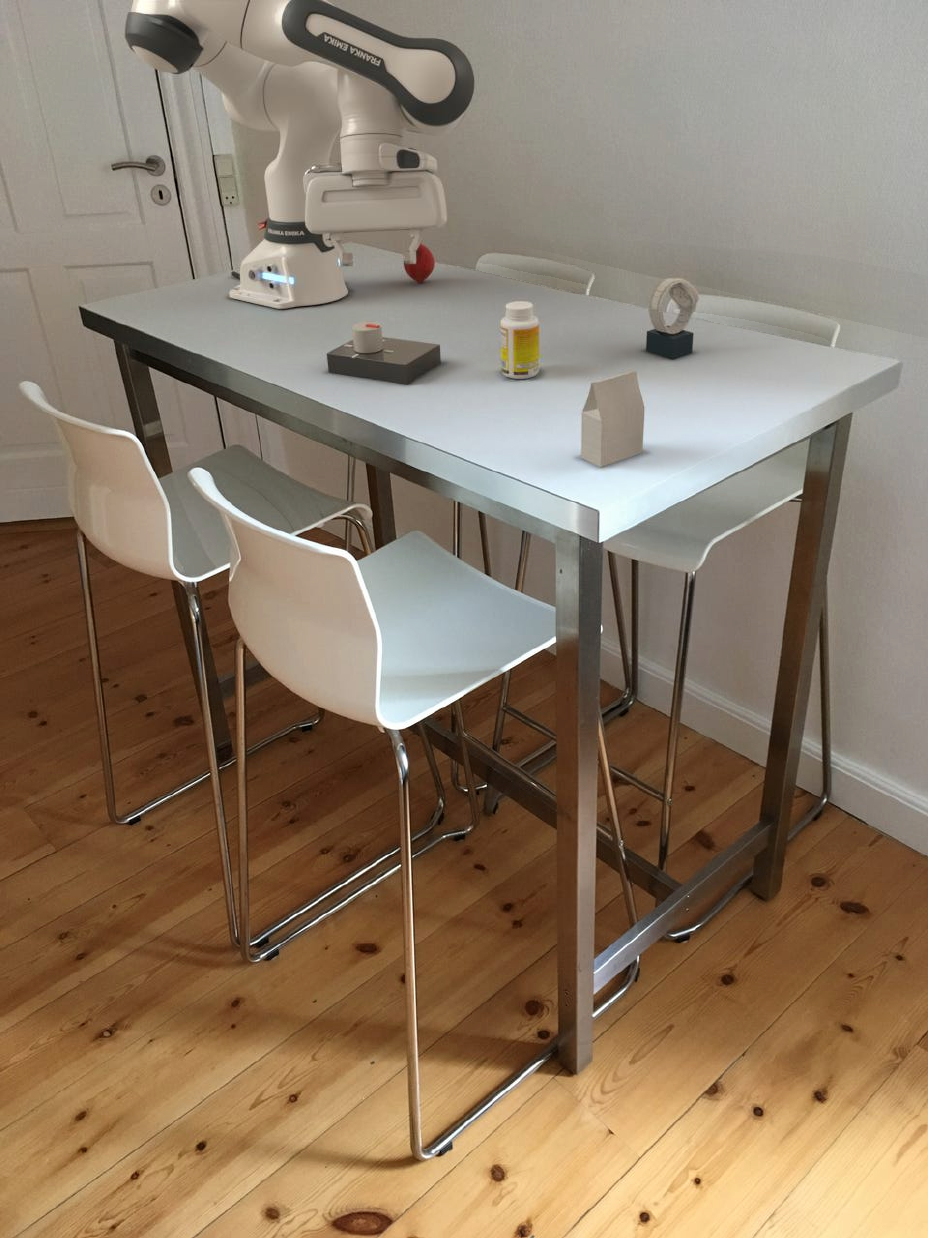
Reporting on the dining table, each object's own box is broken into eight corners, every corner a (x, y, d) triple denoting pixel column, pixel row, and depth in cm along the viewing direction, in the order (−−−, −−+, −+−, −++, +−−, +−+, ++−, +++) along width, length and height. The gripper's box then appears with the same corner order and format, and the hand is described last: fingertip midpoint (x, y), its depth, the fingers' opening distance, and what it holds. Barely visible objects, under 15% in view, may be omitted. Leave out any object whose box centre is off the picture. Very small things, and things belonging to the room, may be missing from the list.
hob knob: (348, 351, 163) (345, 326, 161) (364, 342, 166) (362, 318, 164) (372, 354, 161) (370, 329, 159) (388, 346, 165) (386, 321, 163)
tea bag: (642, 453, 134) (646, 374, 129) (600, 467, 131) (602, 387, 126) (622, 444, 137) (625, 367, 132) (580, 457, 134) (582, 379, 129)
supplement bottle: (546, 371, 161) (546, 302, 156) (525, 382, 157) (524, 312, 152) (515, 365, 164) (514, 297, 159) (494, 376, 160) (492, 306, 155)
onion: (431, 287, 203) (429, 243, 199) (401, 286, 204) (398, 243, 200) (438, 279, 208) (436, 235, 204) (409, 278, 209) (406, 235, 205)
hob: (327, 372, 165) (325, 352, 163) (364, 352, 172) (362, 332, 170) (405, 385, 159) (404, 364, 157) (441, 363, 166) (440, 343, 164)
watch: (700, 349, 167) (706, 277, 161) (664, 362, 162) (668, 287, 157) (673, 341, 170) (677, 270, 165) (637, 353, 166) (640, 280, 160)
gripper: (294, 162, 151) (301, 267, 155) (438, 154, 147) (441, 261, 151) (309, 167, 157) (316, 268, 161) (447, 159, 153) (451, 262, 157)
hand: (378, 264), depth 156 cm, fingers open, 8 cm apart
